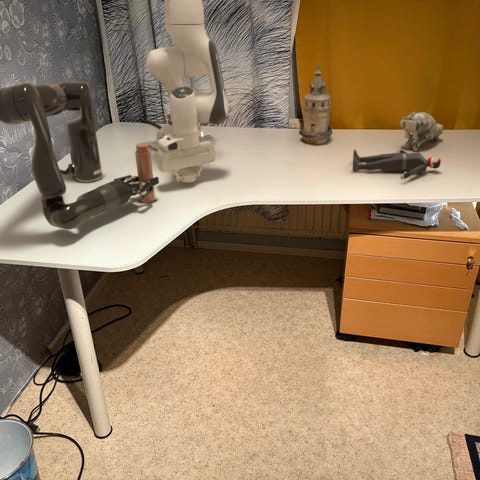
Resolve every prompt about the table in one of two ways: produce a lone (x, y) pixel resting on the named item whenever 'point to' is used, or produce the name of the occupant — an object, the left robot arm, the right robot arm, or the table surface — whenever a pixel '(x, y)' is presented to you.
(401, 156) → the toy
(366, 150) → the table surface
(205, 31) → the right robot arm
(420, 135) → the figurine
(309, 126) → the miniature building
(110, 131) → the table surface
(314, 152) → the table surface
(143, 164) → the tan tall cylinder
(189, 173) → the lid
